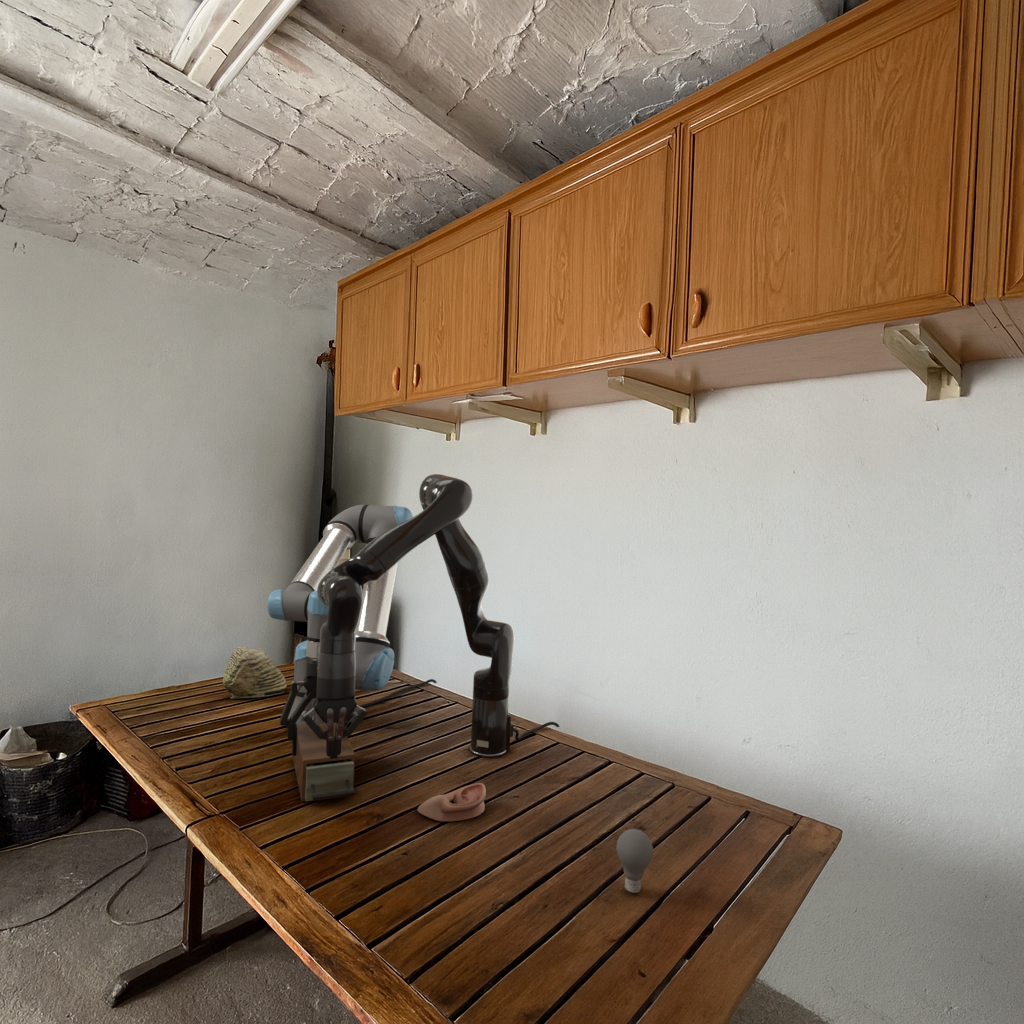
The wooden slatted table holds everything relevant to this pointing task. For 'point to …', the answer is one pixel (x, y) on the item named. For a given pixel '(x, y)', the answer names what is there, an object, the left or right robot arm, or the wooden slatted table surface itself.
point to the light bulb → (634, 857)
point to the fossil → (252, 674)
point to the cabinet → (315, 753)
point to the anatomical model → (456, 804)
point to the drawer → (329, 780)
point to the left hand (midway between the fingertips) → (319, 750)
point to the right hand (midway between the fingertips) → (333, 757)
